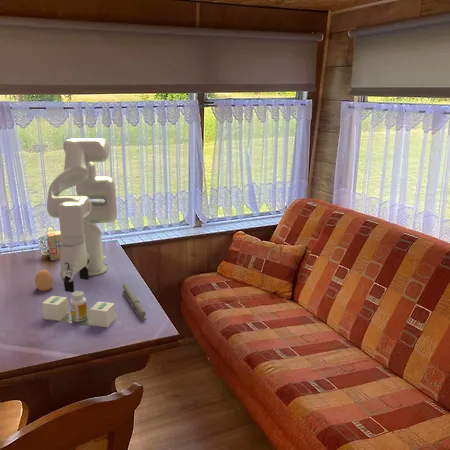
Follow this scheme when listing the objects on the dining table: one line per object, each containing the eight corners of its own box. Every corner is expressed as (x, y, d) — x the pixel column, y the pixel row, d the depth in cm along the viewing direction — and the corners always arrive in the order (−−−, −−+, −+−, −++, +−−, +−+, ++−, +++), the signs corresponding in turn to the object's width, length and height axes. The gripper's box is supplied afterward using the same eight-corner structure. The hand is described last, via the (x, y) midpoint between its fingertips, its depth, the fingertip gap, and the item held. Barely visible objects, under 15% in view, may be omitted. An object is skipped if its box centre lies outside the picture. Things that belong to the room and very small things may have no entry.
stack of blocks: (94, 250, 231) (92, 226, 227) (96, 254, 226) (95, 230, 222) (49, 256, 222) (46, 231, 218) (50, 260, 216) (48, 235, 213)
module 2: (99, 316, 163) (98, 300, 161) (115, 318, 162) (114, 302, 160) (91, 325, 157) (89, 308, 155) (107, 327, 156) (106, 310, 154)
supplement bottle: (89, 314, 164) (87, 289, 161) (85, 322, 159) (83, 296, 156) (73, 314, 164) (71, 289, 161) (69, 322, 159) (67, 296, 156)
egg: (32, 292, 183) (29, 271, 180) (45, 286, 189) (43, 265, 186) (44, 296, 180) (42, 274, 178) (57, 289, 186) (55, 268, 184)
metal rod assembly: (122, 295, 183) (121, 283, 182) (128, 294, 184) (128, 282, 183) (139, 325, 161) (139, 312, 159) (147, 323, 162) (147, 310, 161)
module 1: (53, 310, 167) (52, 295, 165) (68, 312, 165) (67, 297, 163) (43, 318, 161) (42, 302, 159) (59, 320, 160) (57, 304, 158)
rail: (54, 313, 167) (54, 310, 167) (116, 321, 162) (115, 318, 162) (43, 322, 161) (43, 319, 160) (106, 331, 156) (106, 328, 156)
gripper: (76, 229, 161) (80, 273, 167) (47, 246, 145) (53, 295, 151) (96, 231, 160) (99, 276, 166) (69, 249, 144) (74, 298, 150)
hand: (77, 285), depth 158 cm, fingers open, 9 cm apart
